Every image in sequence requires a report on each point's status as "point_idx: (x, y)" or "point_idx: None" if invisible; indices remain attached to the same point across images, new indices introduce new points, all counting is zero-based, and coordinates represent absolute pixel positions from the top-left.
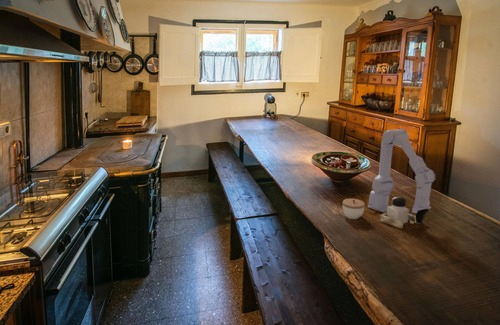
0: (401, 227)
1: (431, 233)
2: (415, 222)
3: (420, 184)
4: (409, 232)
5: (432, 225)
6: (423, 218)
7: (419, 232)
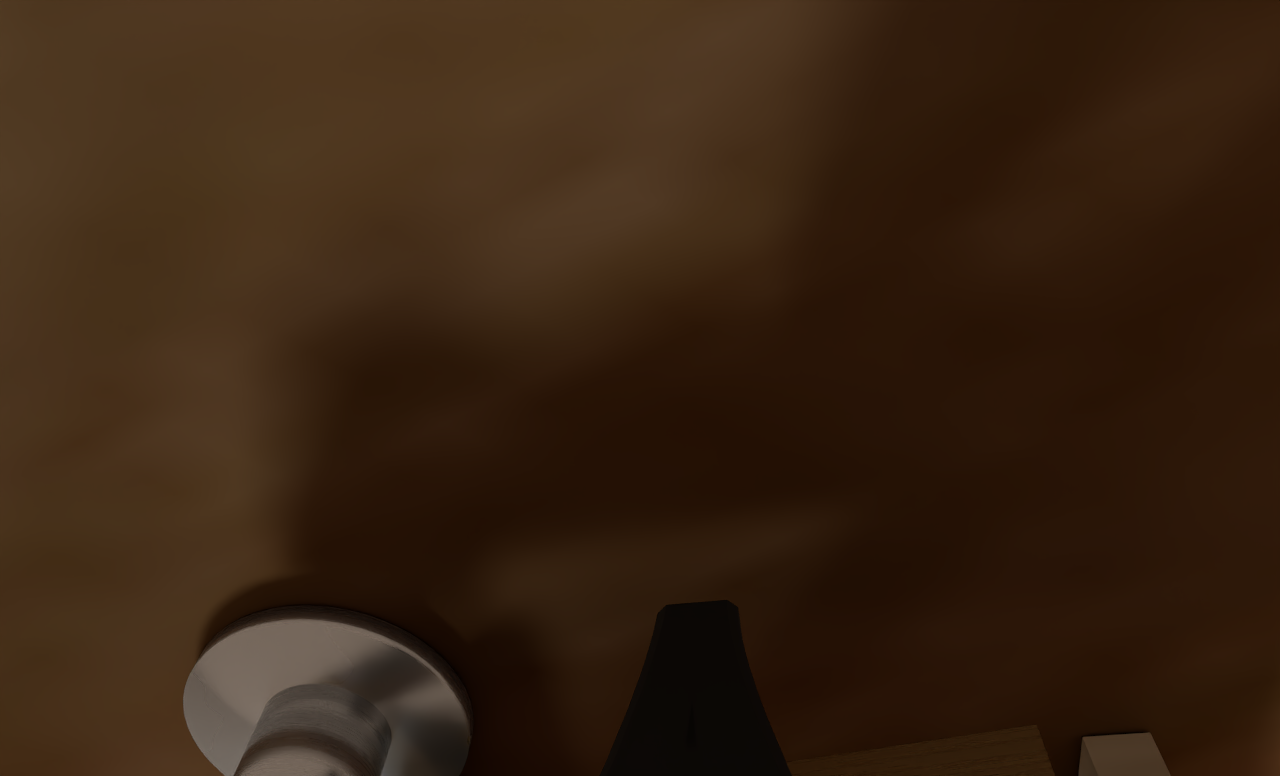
0: (1160, 767)
1: (729, 14)
2: (464, 716)
3: None
4: (1274, 509)
5: (69, 356)
6: (609, 771)
7: (1019, 332)
